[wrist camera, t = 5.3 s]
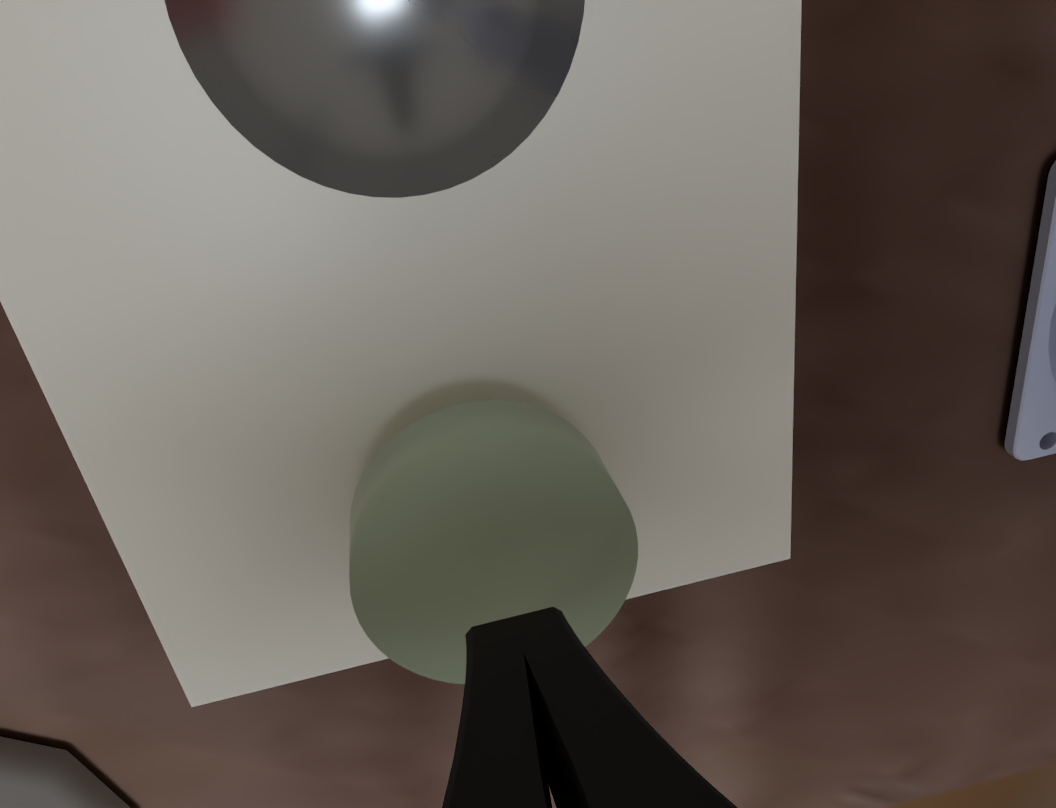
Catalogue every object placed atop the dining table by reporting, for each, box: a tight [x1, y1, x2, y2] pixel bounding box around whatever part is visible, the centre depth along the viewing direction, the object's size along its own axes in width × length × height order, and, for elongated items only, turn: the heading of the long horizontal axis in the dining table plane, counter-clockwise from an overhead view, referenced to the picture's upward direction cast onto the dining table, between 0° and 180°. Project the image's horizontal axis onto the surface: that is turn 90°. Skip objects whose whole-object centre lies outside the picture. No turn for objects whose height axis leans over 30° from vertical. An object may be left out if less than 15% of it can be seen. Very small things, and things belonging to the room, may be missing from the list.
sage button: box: [349, 400, 638, 684], centre depth 14 cm, size 5×5×2 cm
